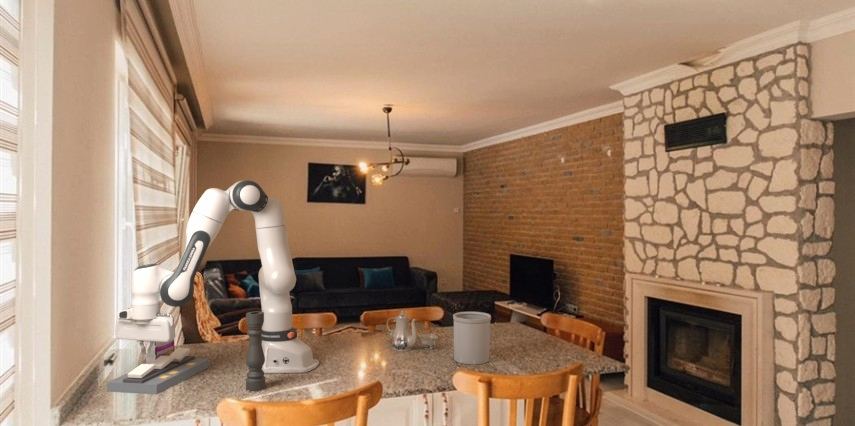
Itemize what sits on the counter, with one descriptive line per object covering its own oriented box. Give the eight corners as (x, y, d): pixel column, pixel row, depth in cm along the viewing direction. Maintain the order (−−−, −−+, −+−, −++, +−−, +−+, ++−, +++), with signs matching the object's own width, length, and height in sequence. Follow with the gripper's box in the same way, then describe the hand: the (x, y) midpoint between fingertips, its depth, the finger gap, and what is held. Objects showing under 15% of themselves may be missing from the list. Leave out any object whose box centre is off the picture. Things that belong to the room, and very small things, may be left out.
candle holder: (248, 385, 182) (247, 311, 182) (267, 385, 182) (266, 311, 182) (243, 391, 176) (243, 315, 175) (263, 391, 176) (262, 314, 176)
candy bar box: (164, 356, 218) (163, 315, 218) (175, 357, 217) (174, 316, 217) (144, 364, 207) (143, 321, 207) (155, 365, 206) (155, 322, 206)
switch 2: (174, 359, 193) (173, 356, 193) (161, 369, 186) (161, 365, 186) (161, 358, 194) (160, 355, 194) (148, 368, 187) (148, 365, 187)
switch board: (209, 366, 203) (209, 356, 203) (156, 394, 174) (156, 381, 174) (165, 364, 206) (165, 354, 206) (106, 391, 177) (106, 379, 177)
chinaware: (444, 351, 230) (446, 312, 231) (423, 356, 216) (425, 314, 217) (391, 342, 245) (393, 305, 246) (368, 347, 231) (370, 307, 232)
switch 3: (190, 351, 203) (190, 348, 203) (179, 361, 196) (179, 358, 196) (178, 350, 204) (177, 347, 203) (167, 361, 197) (166, 358, 197)
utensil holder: (496, 357, 215) (495, 313, 215) (483, 367, 201) (483, 320, 201) (461, 353, 221) (461, 310, 221) (447, 362, 208) (447, 317, 207)
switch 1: (155, 367, 183) (155, 364, 183) (141, 378, 176) (141, 374, 176) (142, 366, 184) (141, 363, 184) (128, 377, 177) (127, 374, 177)
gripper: (179, 312, 184) (179, 352, 184) (125, 309, 187) (125, 349, 187) (167, 315, 178) (167, 357, 178) (112, 312, 181) (111, 354, 181)
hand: (145, 353), depth 182 cm, fingers closed
